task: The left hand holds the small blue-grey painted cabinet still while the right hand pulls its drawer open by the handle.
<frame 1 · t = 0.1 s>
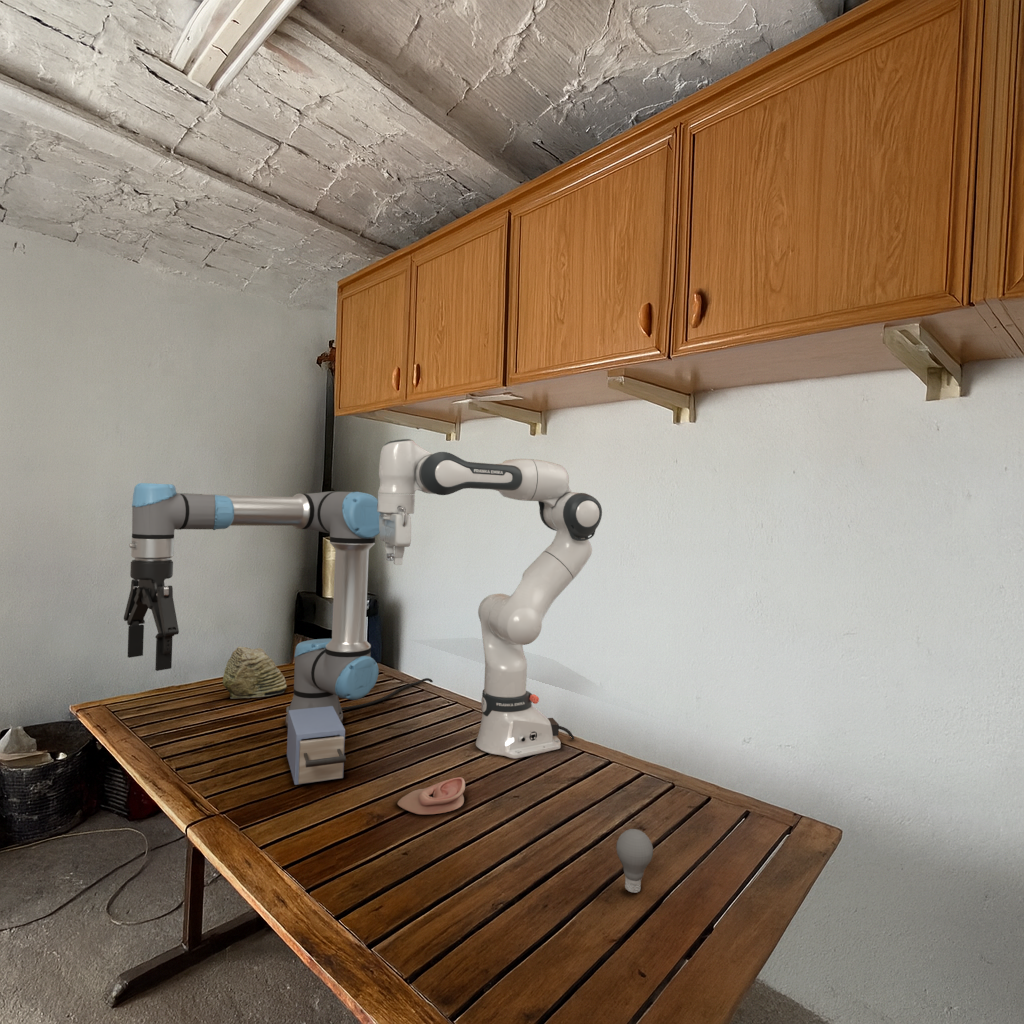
left hand: (148, 662, 129), 28 cm above the table, tool pointing down, fingers open, 13 cm apart
right hand: (393, 562, 154), 48 cm above the table, tool pointing down, fingers open, 8 cm apart
light bulb: (632, 891, 106), on the table
cabinet: (314, 766, 148), on the table
drawer: (318, 752, 143), point 6 cm above the table, slide at 0.9 cm
fossil: (254, 694, 198), on the table
anatomical model: (431, 803, 133), on the table
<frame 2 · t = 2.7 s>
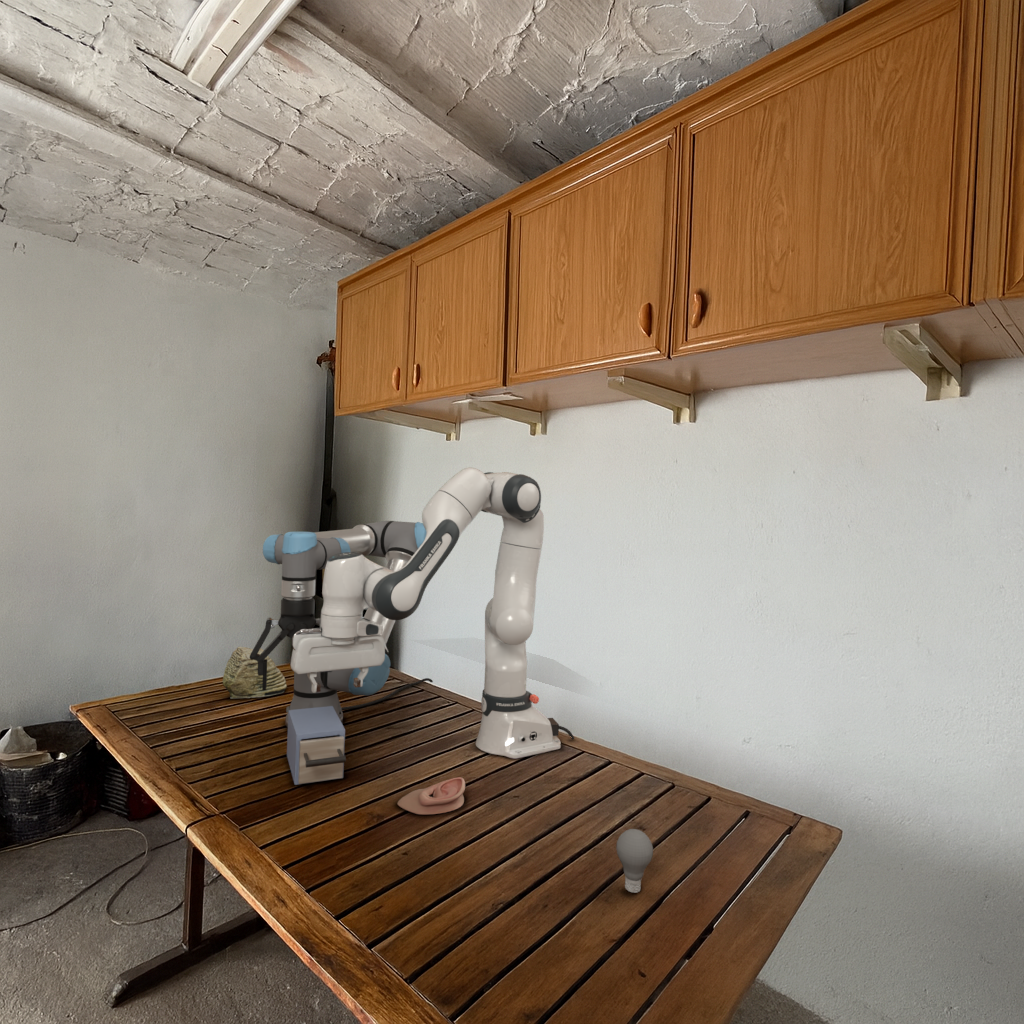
left hand: (295, 687, 149), 18 cm above the table, tool pointing down, fingers open, 13 cm apart
right hand: (337, 689, 139), 21 cm above the table, tool pointing down, fingers open, 8 cm apart
nothing on the table moved.
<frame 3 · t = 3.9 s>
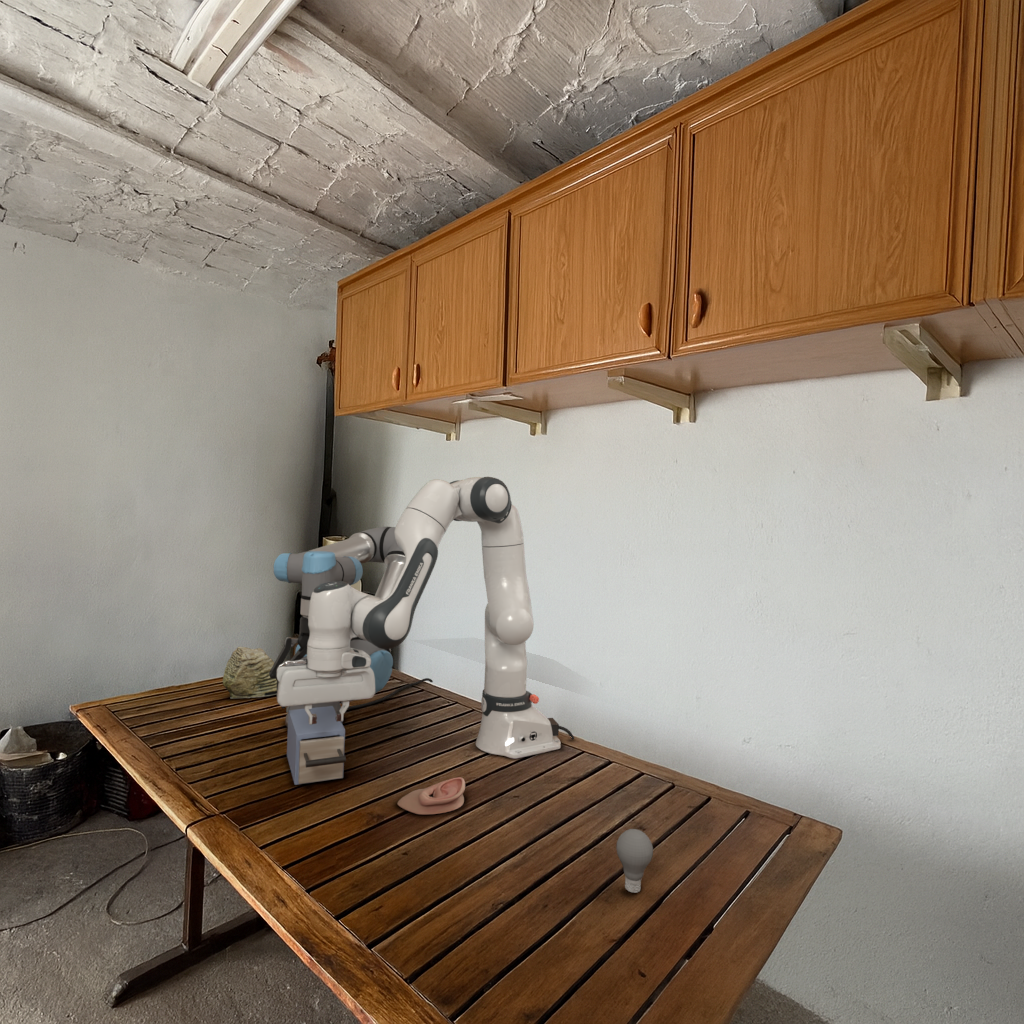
left hand: (312, 704, 152), 13 cm above the table, tool pointing down, fingers open, 13 cm apart
right hand: (326, 722, 136), 15 cm above the table, tool pointing down, fingers open, 4 cm apart
nothing on the table moved.
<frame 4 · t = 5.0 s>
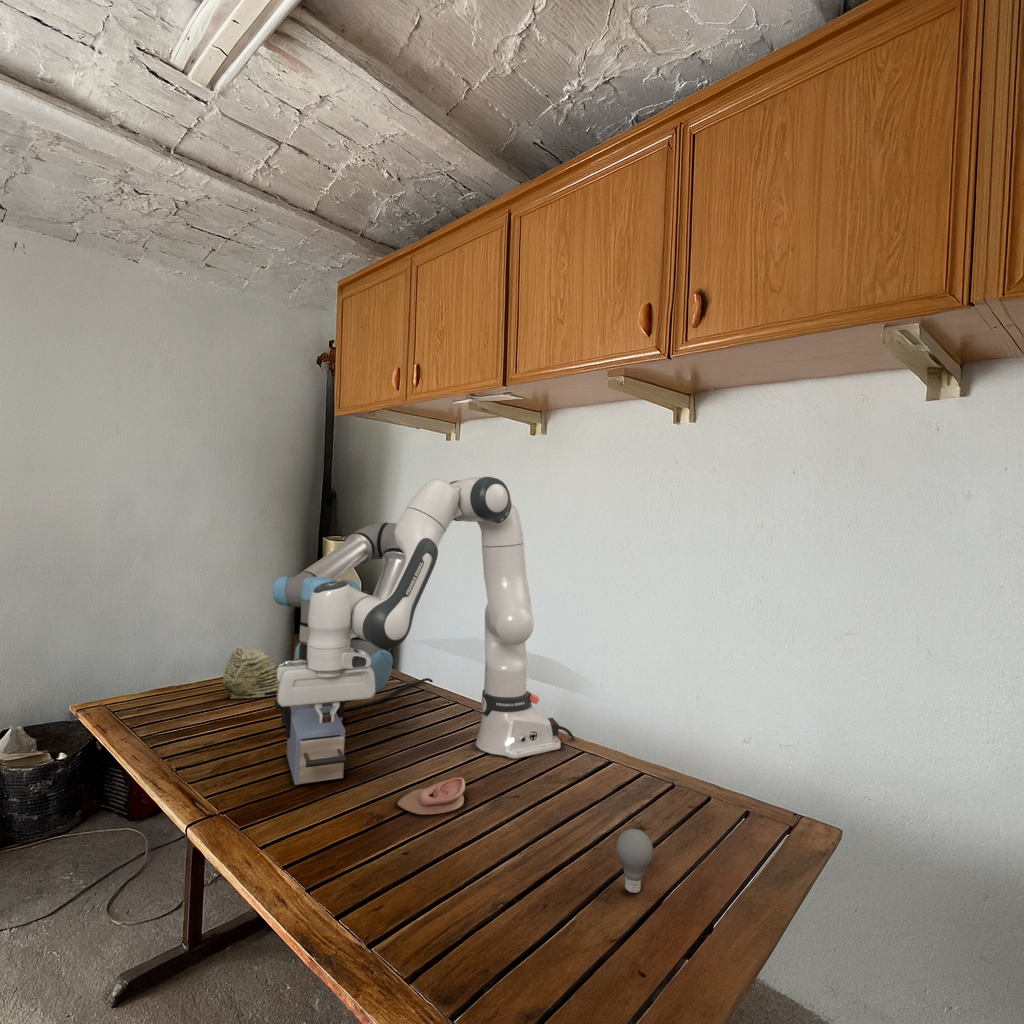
left hand: (312, 733, 152), 6 cm above the table, tool pointing down, fingers closed on cabinet, 10 cm apart
right hand: (326, 722, 136), 15 cm above the table, tool pointing down, fingers closed
cabinet: (314, 766, 148), on the table, touching left hand
everything else where it was.
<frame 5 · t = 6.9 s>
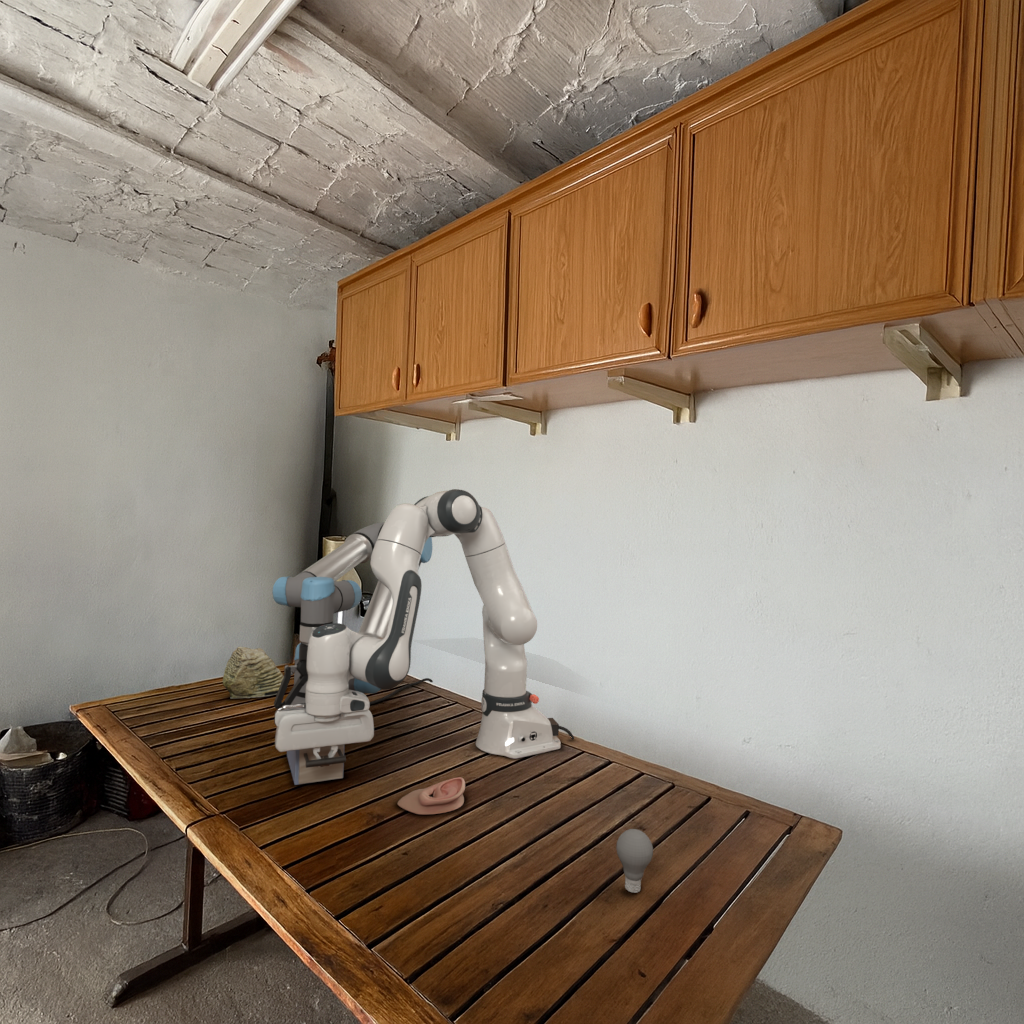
left hand: (312, 733, 152), 6 cm above the table, tool pointing down, fingers closed on cabinet, 10 cm apart
right hand: (324, 765, 135), 6 cm above the table, tool pointing down, fingers closed, pressing on drawer
cabinet: (314, 766, 148), on the table, touching left hand
drawer: (318, 752, 143), point 6 cm above the table, slide at 1.0 cm, touching right hand
everything else where it was.
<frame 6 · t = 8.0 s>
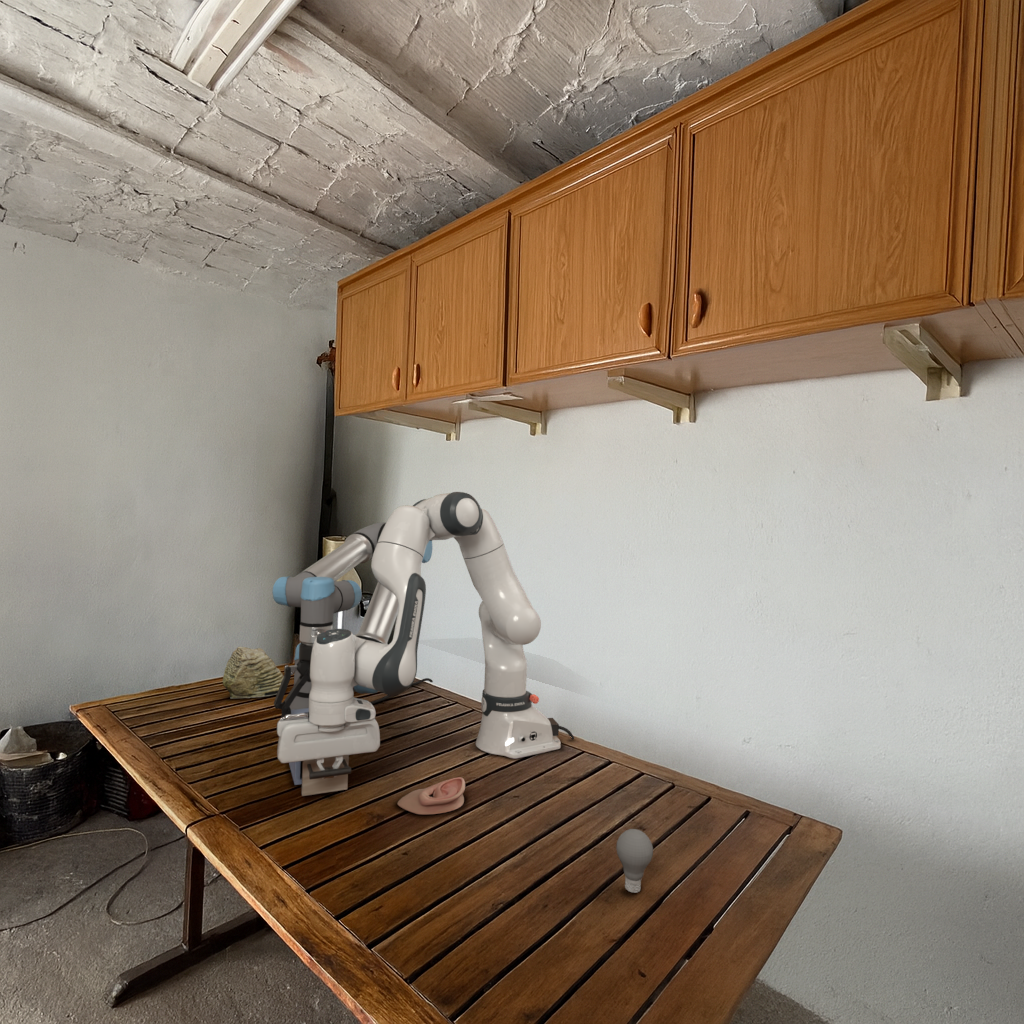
left hand: (312, 733, 152), 6 cm above the table, tool pointing down, fingers closed on cabinet, 10 cm apart
right hand: (328, 777, 130), 6 cm above the table, tool pointing down, fingers closed, pressing on drawer
cabinet: (314, 766, 148), on the table, touching left hand
drawer: (322, 762, 138), point 6 cm above the table, slide at 6.8 cm, touching right hand
everything else where it was.
when the left hand's fingers open (6 cm above the table, at t = 9.8 s): cabinet stays where it is, on the table.
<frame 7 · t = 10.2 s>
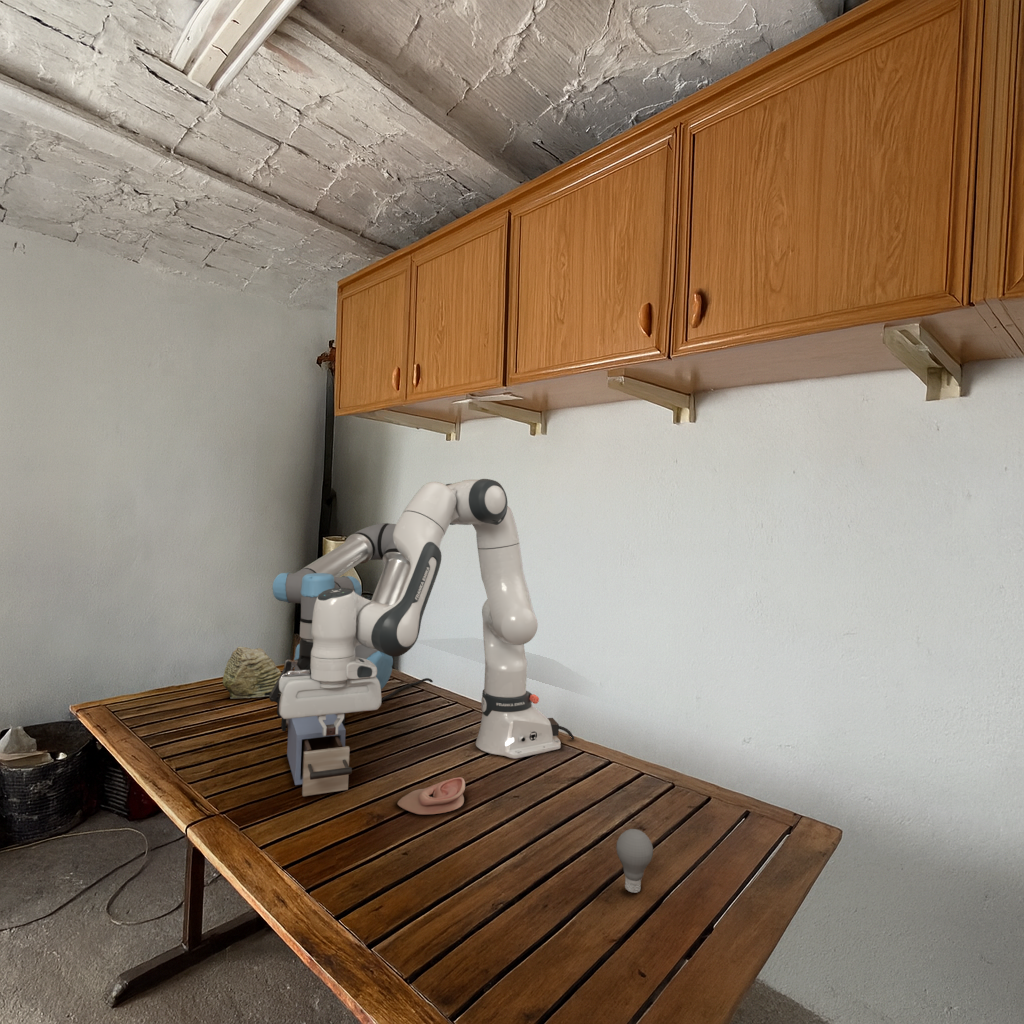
left hand: (313, 725, 153), 8 cm above the table, tool pointing down, fingers open, 13 cm apart
right hand: (330, 734, 130), 15 cm above the table, tool pointing down, fingers closed
cabinet: (314, 766, 148), on the table
drawer: (323, 762, 138), point 6 cm above the table, slide at 6.8 cm
everything else where it was.
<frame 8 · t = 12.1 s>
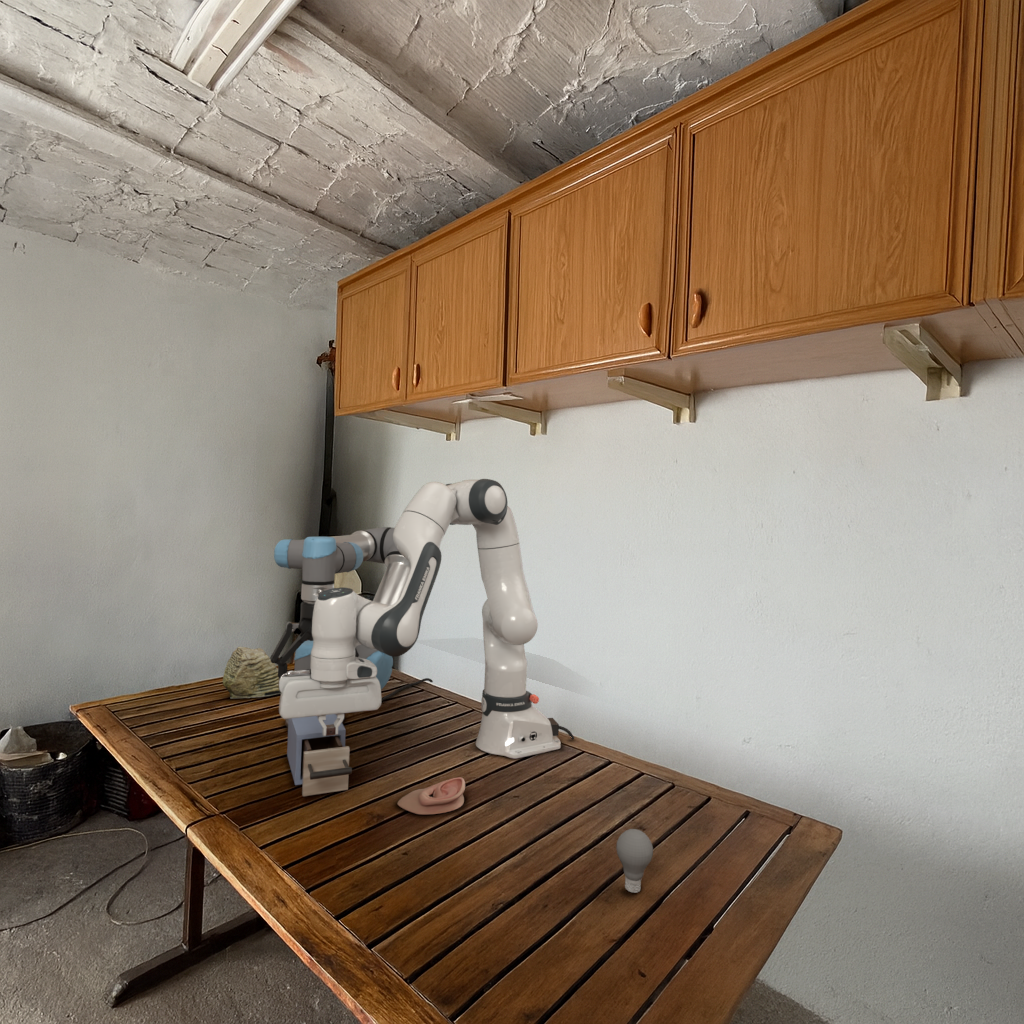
left hand: (314, 689, 152), 17 cm above the table, tool pointing down, fingers open, 13 cm apart
right hand: (330, 734, 130), 15 cm above the table, tool pointing down, fingers closed
nothing on the table moved.
at the end: drawer slide at 6.8 cm; cabinet tilted 0°; cabinet never tilted more than 1° during the clip; cabinet moved 0.2 cm from its start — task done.
